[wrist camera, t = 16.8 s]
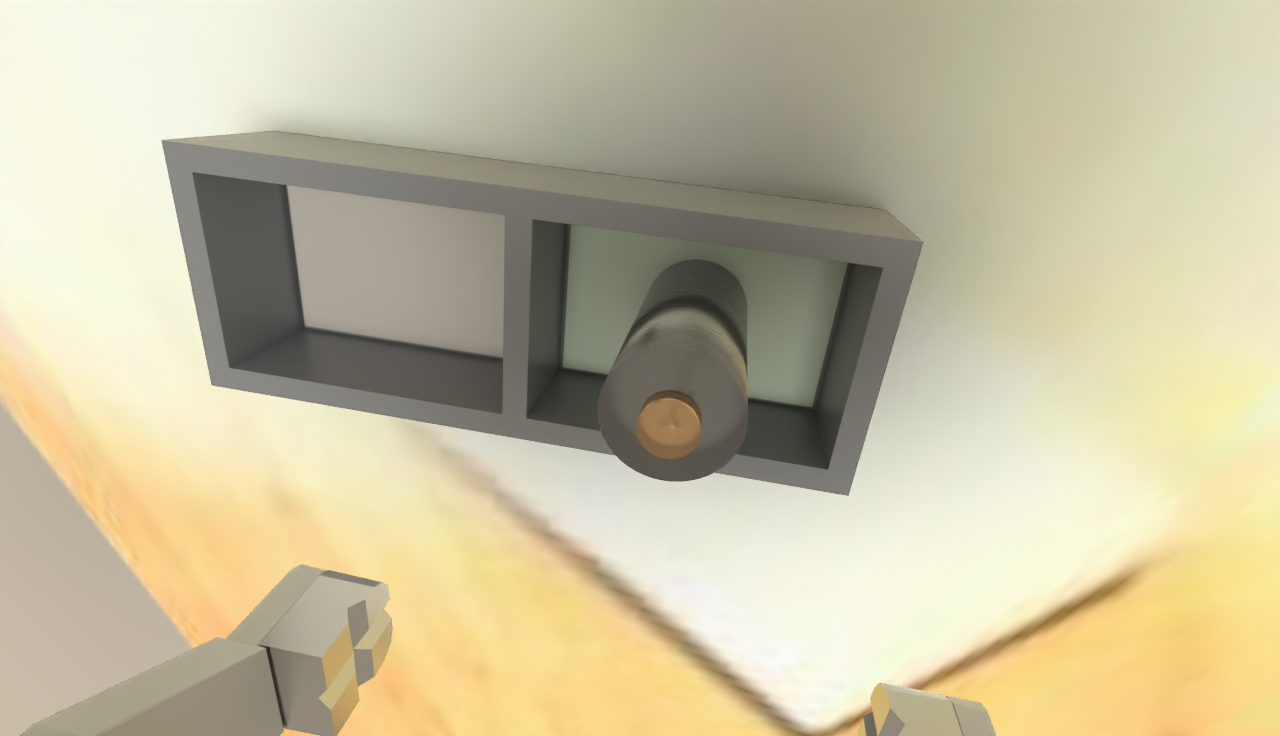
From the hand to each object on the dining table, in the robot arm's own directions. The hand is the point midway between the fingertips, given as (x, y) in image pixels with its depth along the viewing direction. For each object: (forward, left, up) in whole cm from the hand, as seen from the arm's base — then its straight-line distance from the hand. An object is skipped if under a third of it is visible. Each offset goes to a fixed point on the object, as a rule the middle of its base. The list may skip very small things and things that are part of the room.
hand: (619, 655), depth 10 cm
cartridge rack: (0, -7, -20) cm, 21 cm away
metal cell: (0, 0, -19) cm, 19 cm away
